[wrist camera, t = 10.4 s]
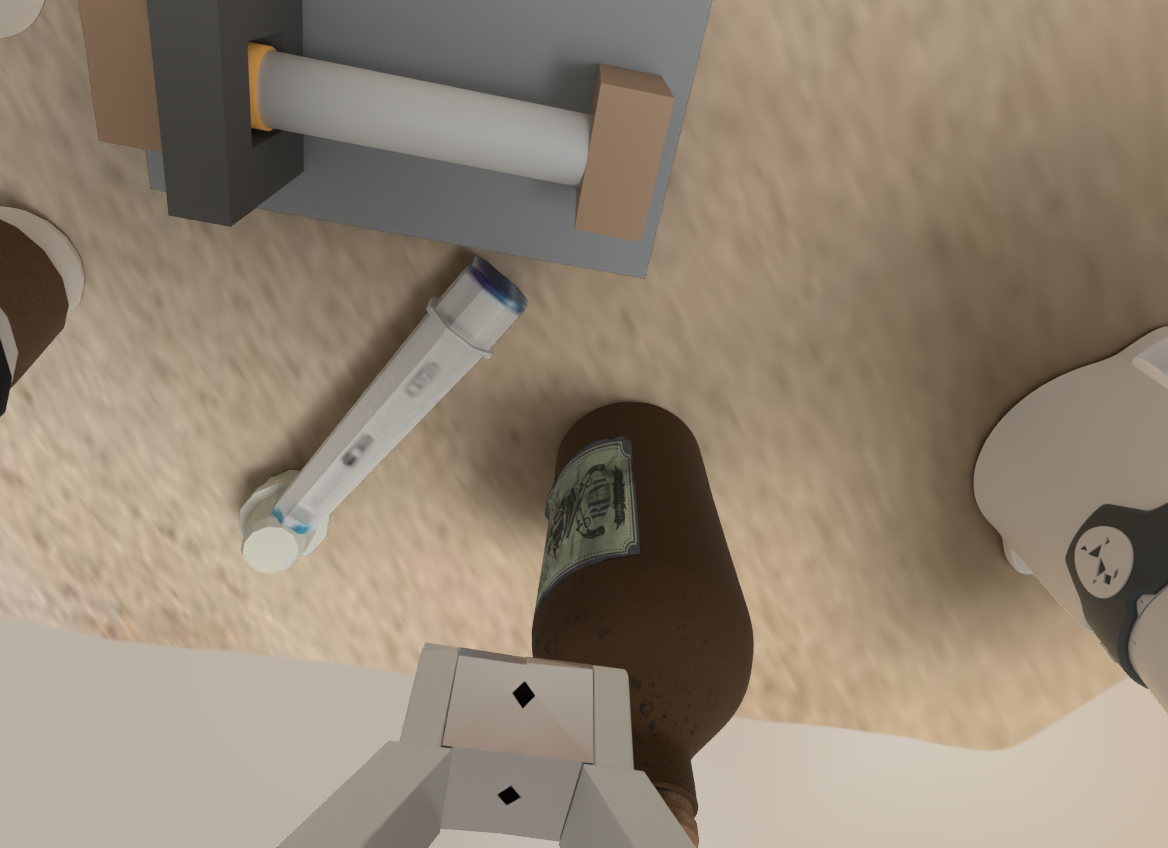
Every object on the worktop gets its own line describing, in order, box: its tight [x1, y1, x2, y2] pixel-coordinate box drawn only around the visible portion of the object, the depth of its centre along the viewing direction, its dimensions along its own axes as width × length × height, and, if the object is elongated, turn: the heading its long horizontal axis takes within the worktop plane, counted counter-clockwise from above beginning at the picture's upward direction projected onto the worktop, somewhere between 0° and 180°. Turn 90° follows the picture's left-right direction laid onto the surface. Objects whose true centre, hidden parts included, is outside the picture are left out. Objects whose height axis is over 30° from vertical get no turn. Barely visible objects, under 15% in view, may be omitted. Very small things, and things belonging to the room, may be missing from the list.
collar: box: [146, 0, 304, 226], centre depth 31 cm, size 2×9×9 cm, turn 169°
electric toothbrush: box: [238, 256, 527, 573], centre depth 46 cm, size 5×7×25 cm
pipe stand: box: [79, 0, 712, 279], centre depth 34 cm, size 26×14×8 cm, turn 79°
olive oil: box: [532, 403, 754, 848], centre depth 39 cm, size 11×11×25 cm
